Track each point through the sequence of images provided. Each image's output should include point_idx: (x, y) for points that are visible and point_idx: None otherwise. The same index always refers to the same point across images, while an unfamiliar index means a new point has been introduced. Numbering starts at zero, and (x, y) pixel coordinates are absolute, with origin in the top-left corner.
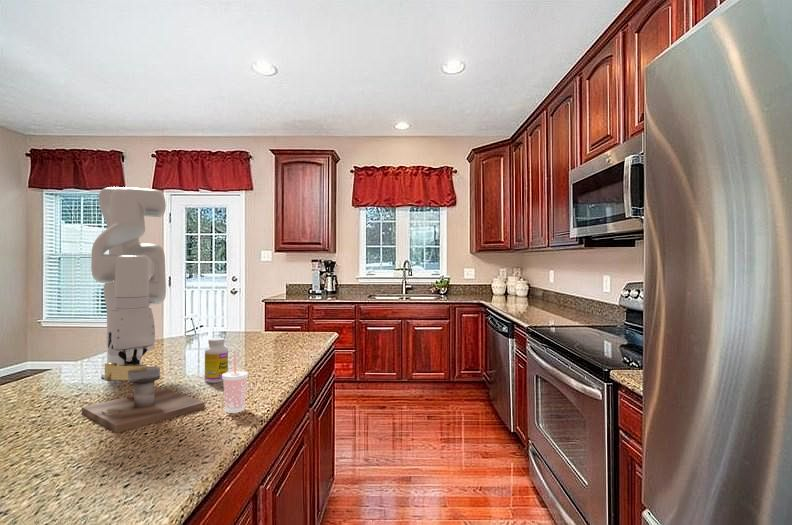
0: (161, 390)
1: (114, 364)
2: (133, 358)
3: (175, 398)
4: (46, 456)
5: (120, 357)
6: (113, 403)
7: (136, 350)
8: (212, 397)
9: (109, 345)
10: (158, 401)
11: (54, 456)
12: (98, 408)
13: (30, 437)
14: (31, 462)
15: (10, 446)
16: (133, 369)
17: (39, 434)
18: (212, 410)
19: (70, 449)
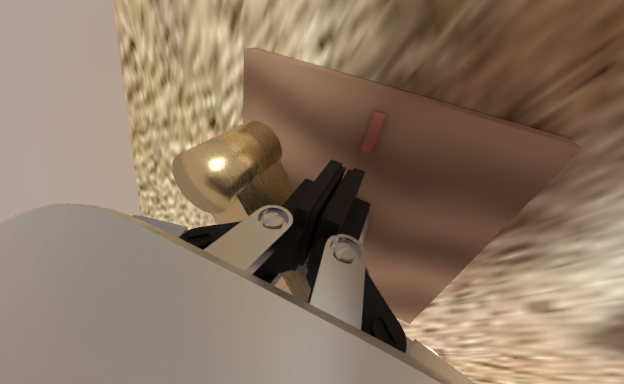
0: (524, 159)
1: (213, 210)
2: (310, 263)
3: (420, 259)
4: (169, 204)
5: (232, 224)
6: (313, 120)
7: (335, 308)
8: (515, 306)
9: (47, 211)
10: (380, 231)
11: (176, 213)
12: (265, 120)
13: (153, 110)
14: (156, 202)
15: (132, 121)
16: None
17: (165, 110)
18: (402, 324)
19: (192, 215)
